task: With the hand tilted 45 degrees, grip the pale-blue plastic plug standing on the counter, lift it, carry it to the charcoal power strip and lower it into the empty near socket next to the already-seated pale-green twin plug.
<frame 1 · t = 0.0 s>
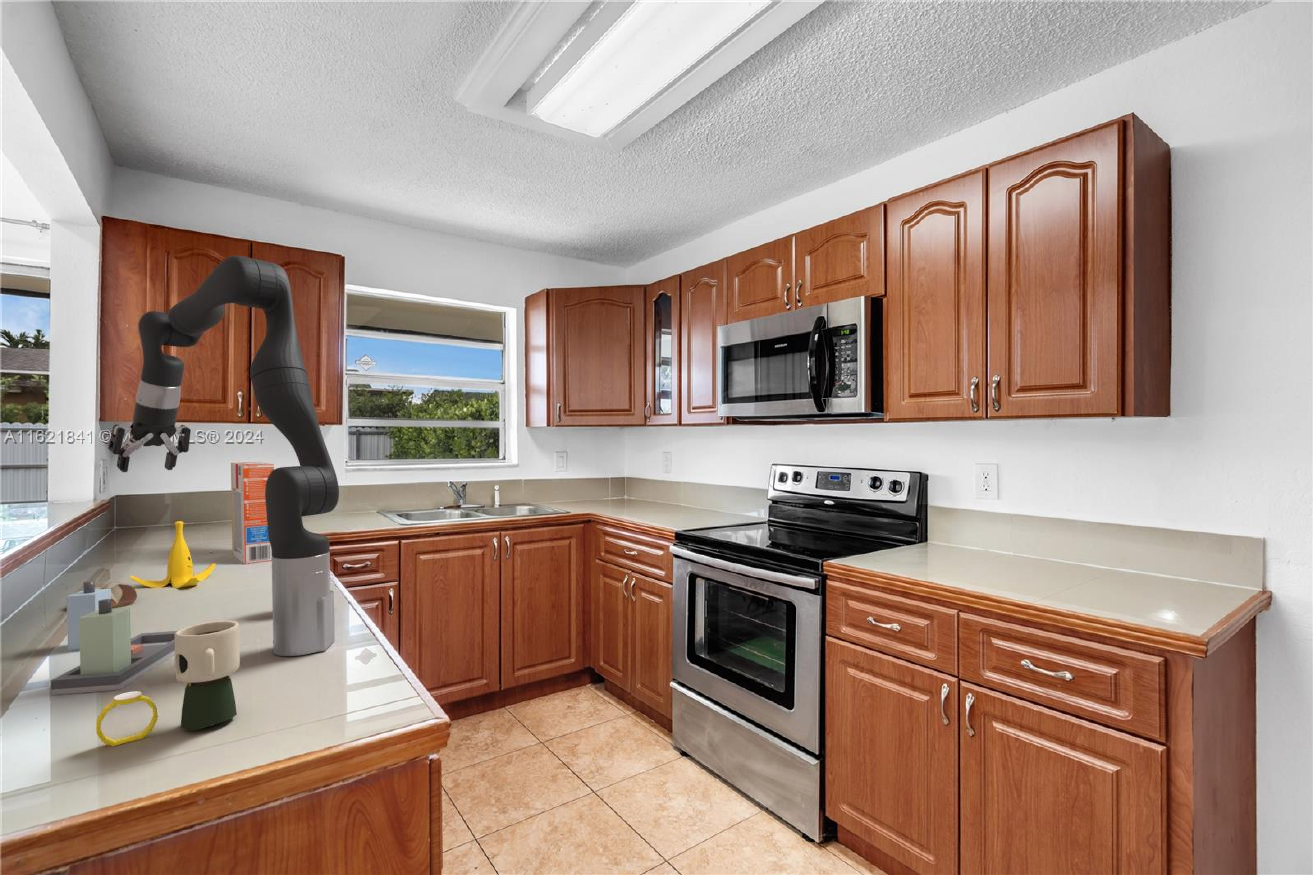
hand: (146, 469, 143), 31 cm above the counter, tool tilted 20°, fingers open, 8 cm apart
pasta box: (253, 557, 203), on the counter
character mug: (209, 725, 86), on the counter
pdu strip: (131, 665, 108), on the counter
banana peel: (169, 586, 166), on the counter
twin plug: (106, 674, 102), point 1 cm above the counter, touching pdu strip
watch: (127, 742, 81), on the counter
plug: (90, 645, 119), on the counter
bread: (104, 607, 147), on the counter
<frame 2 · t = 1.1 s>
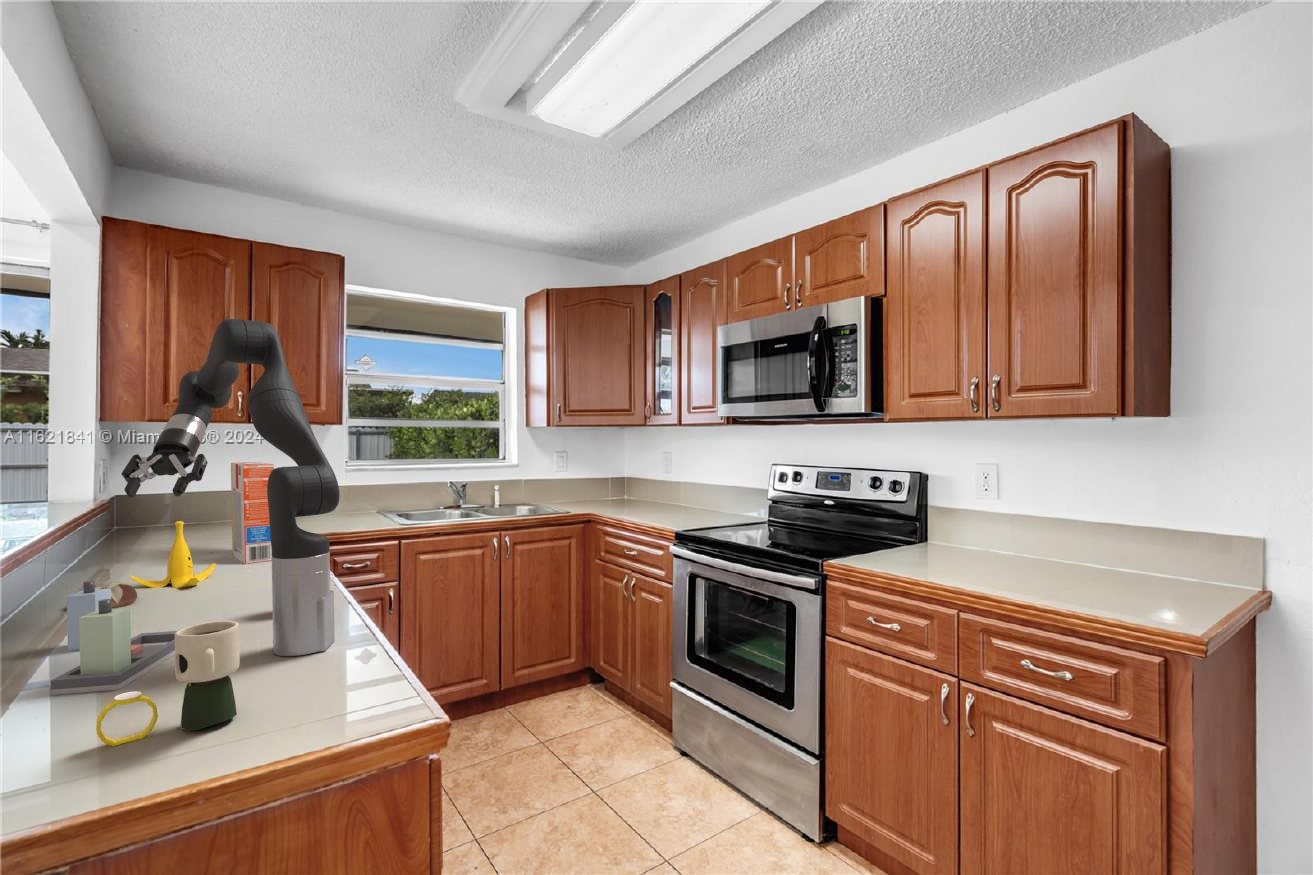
hand: (152, 494, 132), 27 cm above the counter, tool tilted 45°, fingers open, 8 cm apart
nothing on the counter moved.
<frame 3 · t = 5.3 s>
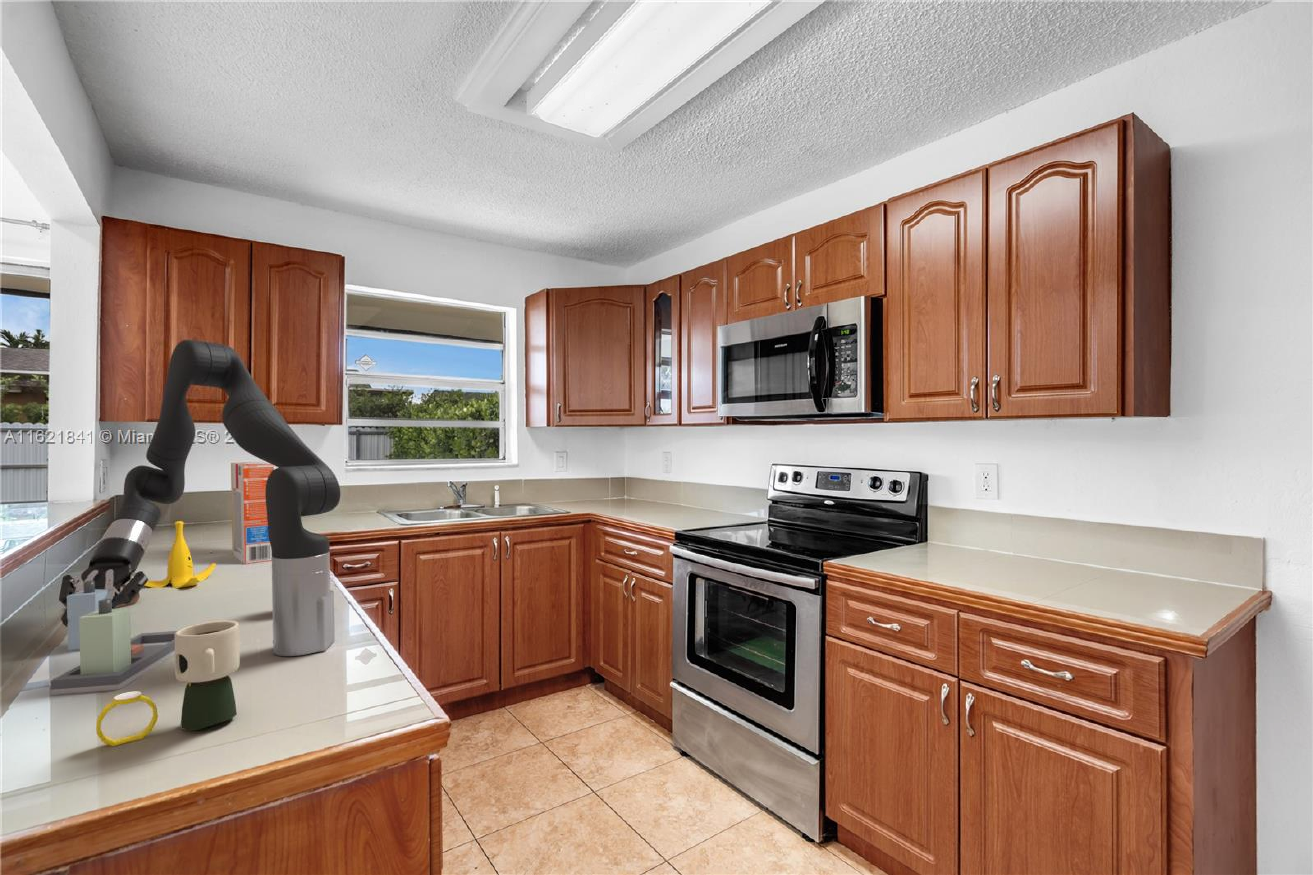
hand: (83, 623, 117), 5 cm above the counter, tool tilted 45°, fingers closed on plug, 4 cm apart
plug: (90, 645, 119), on the counter, touching gripper
everything else where it was.
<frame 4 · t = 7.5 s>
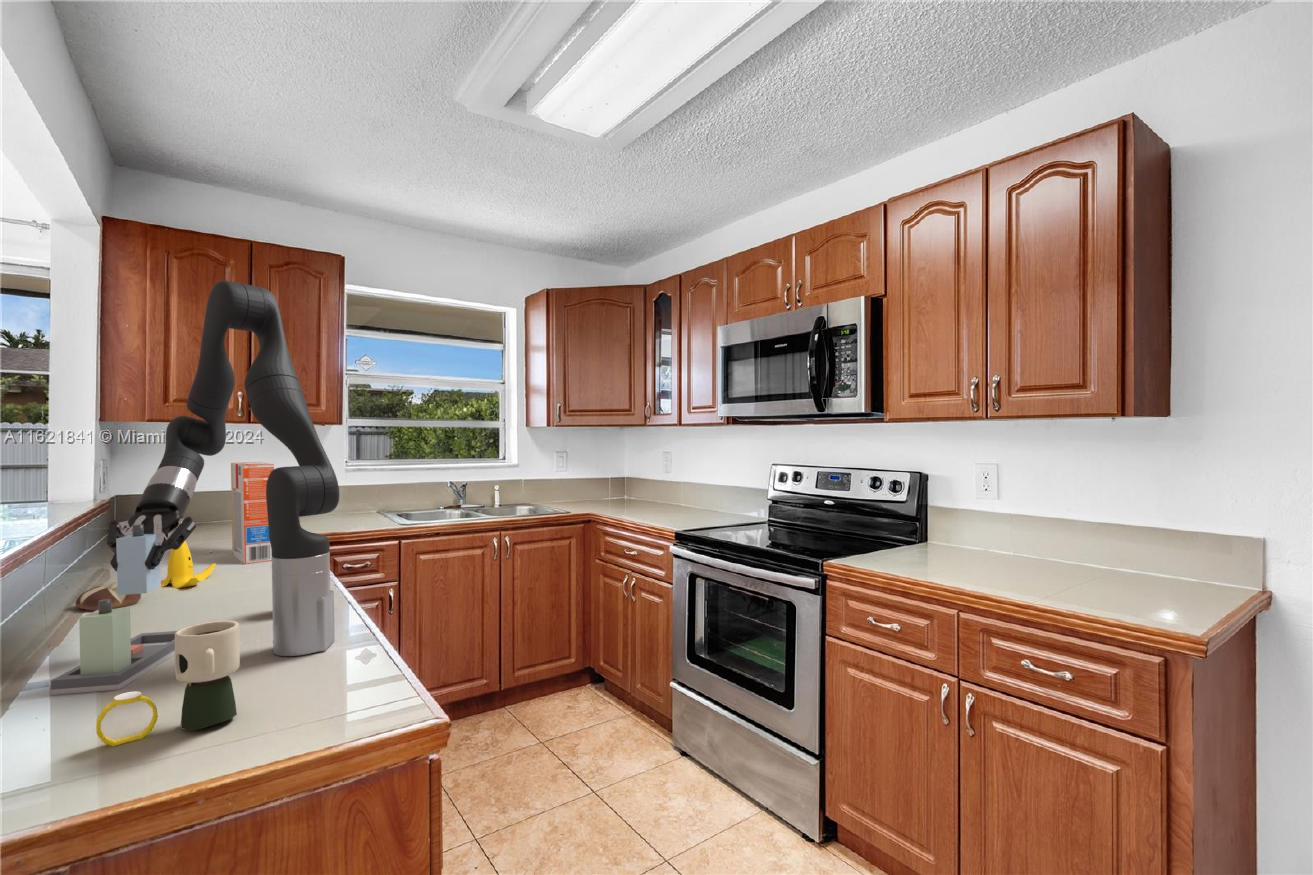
hand: (133, 567, 113), 16 cm above the counter, tool tilted 45°, fingers closed on plug, 4 cm apart
plug: (139, 591, 115), point 11 cm above the counter, touching gripper
everything else where it was.
when the fingers open (6 cm above the counter, at t = 10.0 s): plug stays where it is, resting on pdu strip.
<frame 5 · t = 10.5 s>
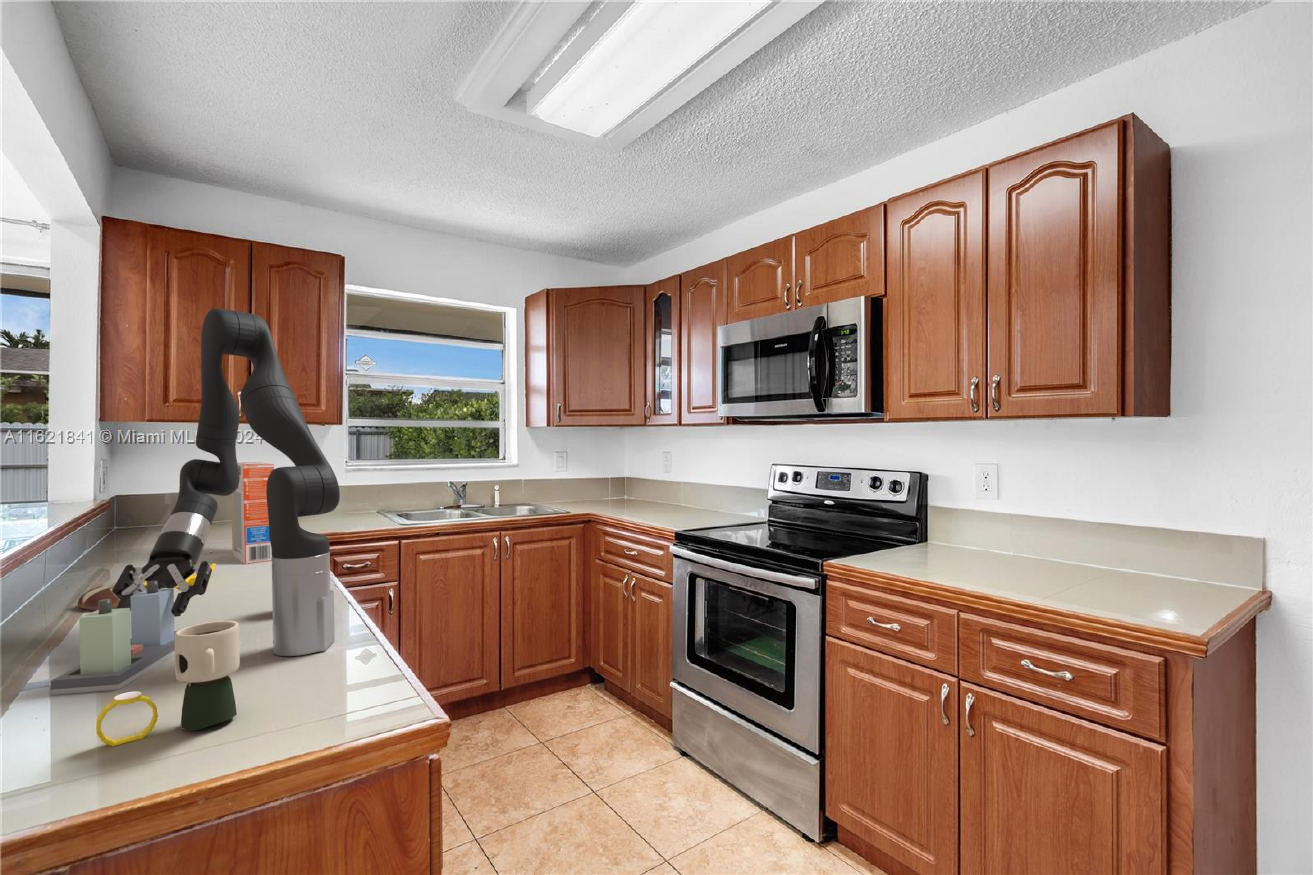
hand: (148, 615, 113), 7 cm above the counter, tool tilted 45°, fingers open, 8 cm apart
plug: (153, 647, 115), point 1 cm above the counter, touching pdu strip
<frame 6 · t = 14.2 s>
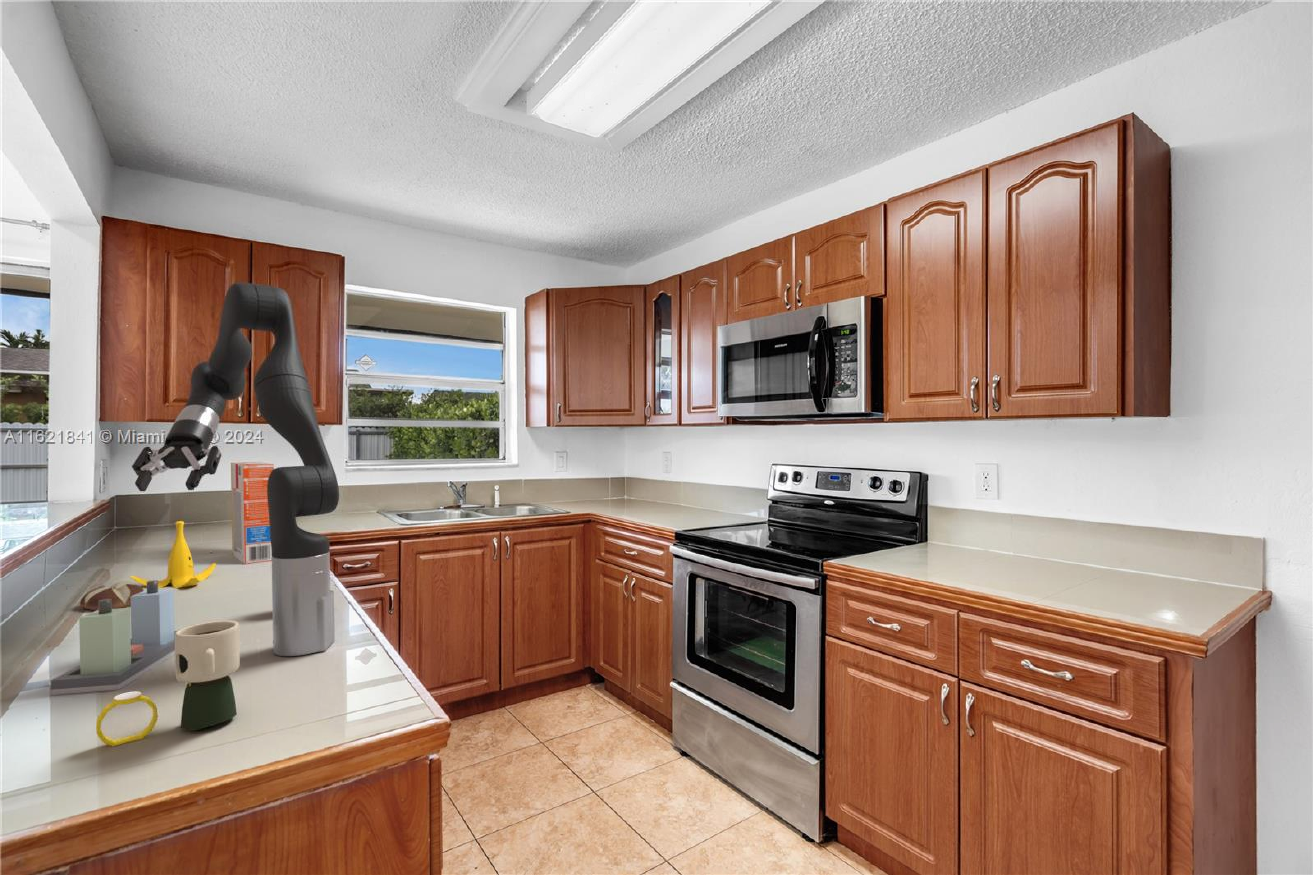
hand: (164, 488, 126), 29 cm above the counter, tool tilted 45°, fingers open, 8 cm apart
at the end: plug 0.1 cm from the target spot on the pdu strip, point 0.8 cm above the pdu strip's base; plug tilted 0°; the gripper is holding nothing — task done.
